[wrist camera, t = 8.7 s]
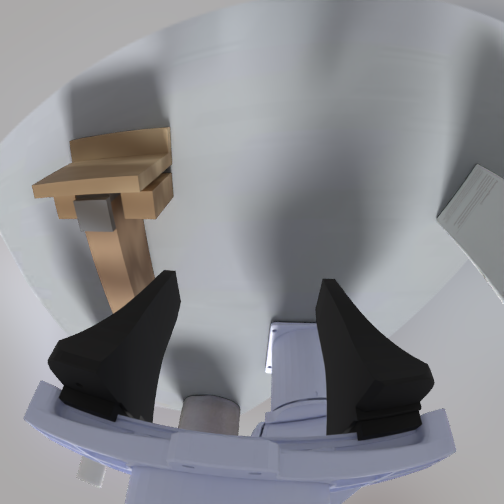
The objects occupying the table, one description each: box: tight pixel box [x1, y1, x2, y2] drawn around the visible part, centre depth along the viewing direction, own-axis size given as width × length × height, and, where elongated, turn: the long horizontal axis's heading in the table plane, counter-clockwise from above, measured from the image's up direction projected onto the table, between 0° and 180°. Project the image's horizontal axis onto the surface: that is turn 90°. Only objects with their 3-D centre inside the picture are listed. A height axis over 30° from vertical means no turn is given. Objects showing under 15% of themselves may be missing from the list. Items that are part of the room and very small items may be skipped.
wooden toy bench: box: [32, 127, 173, 219], centre depth 17 cm, size 6×9×6 cm, turn 88°
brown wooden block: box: [73, 193, 155, 314], centre depth 22 cm, size 14×3×5 cm, turn 179°
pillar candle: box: [178, 395, 240, 436], centre depth 34 cm, size 10×10×15 cm
